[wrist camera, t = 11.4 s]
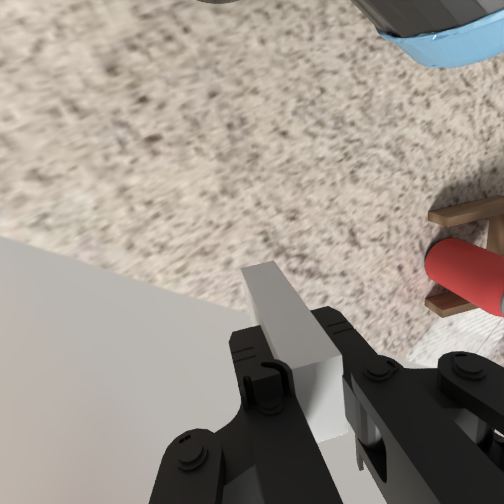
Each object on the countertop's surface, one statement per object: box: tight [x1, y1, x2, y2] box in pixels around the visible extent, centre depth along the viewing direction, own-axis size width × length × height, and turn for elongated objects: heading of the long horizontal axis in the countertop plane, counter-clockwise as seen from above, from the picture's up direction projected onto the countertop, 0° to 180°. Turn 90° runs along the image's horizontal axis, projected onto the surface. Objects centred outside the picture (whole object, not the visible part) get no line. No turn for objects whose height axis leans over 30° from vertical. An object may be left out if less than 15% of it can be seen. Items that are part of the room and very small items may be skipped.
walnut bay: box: [425, 195, 504, 318], centre depth 45 cm, size 14×11×4 cm
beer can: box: [425, 238, 504, 317], centre depth 41 cm, size 7×7×12 cm
